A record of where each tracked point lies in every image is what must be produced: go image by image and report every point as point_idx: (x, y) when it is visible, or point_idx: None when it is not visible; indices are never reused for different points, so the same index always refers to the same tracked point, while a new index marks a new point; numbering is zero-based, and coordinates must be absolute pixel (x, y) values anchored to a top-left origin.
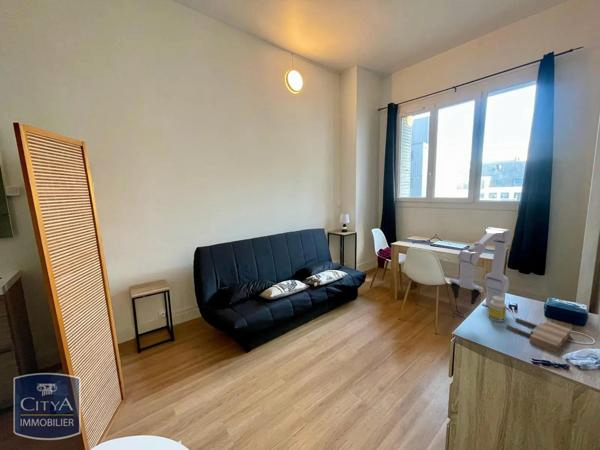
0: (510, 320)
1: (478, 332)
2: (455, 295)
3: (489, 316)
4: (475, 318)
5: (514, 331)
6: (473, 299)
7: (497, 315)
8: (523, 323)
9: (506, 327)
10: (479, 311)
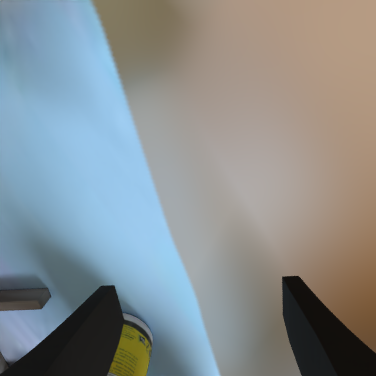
0: None
1: (53, 128)
2: (297, 300)
3: (138, 324)
4: (167, 260)
5: (17, 290)
6: (49, 336)
7: None
8: None
9: (43, 291)
10: (204, 339)
